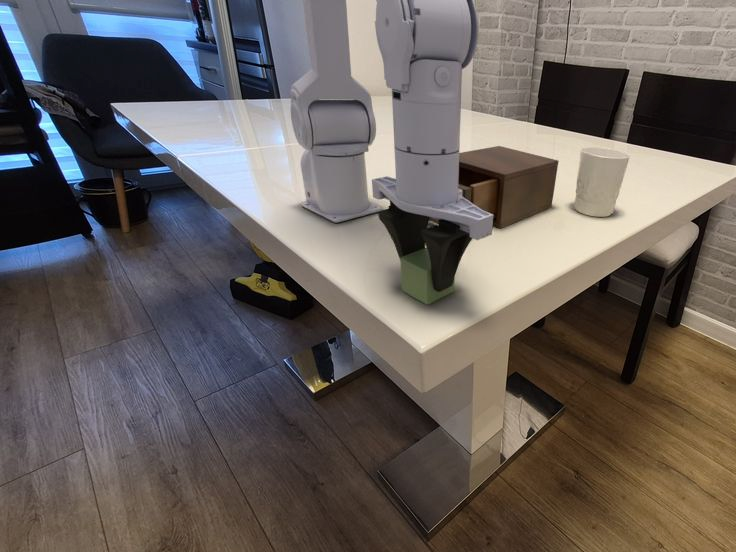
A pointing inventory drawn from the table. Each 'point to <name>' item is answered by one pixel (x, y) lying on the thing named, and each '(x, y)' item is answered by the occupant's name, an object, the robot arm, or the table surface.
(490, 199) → the drawer
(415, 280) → the block
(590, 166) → the white cup
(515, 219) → the cabinet
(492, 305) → the table surface
